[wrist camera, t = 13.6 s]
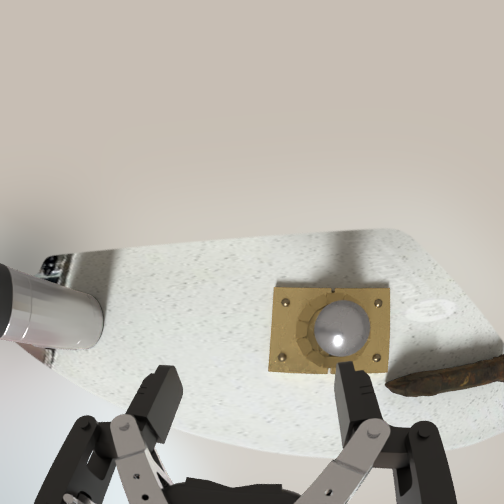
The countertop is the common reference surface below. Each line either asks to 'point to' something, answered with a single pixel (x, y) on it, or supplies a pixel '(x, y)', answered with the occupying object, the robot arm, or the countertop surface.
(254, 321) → the countertop surface
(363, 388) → the robot arm
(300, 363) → the brass socket plate
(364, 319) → the hinge pin
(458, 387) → the hand tool
